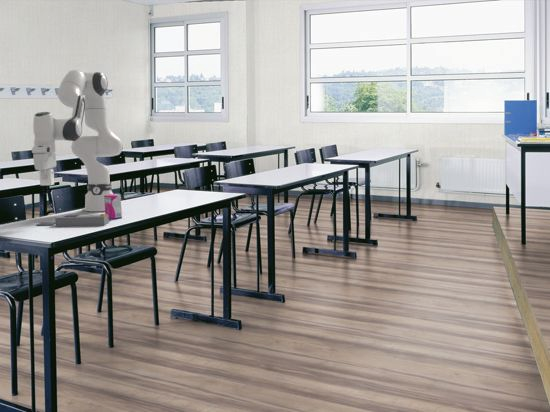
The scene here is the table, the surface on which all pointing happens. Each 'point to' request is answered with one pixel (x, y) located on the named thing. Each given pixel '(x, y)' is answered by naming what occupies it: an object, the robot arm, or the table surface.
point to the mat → (46, 224)
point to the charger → (49, 177)
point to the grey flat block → (82, 220)
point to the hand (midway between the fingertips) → (46, 178)
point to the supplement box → (113, 206)
